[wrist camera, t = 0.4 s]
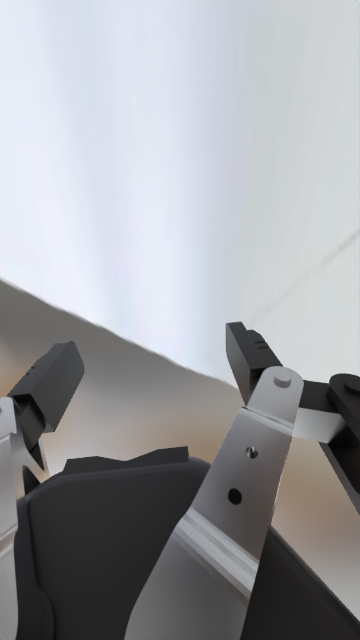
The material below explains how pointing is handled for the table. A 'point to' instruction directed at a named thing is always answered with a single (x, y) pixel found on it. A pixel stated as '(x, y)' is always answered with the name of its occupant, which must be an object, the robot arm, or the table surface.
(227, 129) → the table surface
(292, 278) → the table surface
